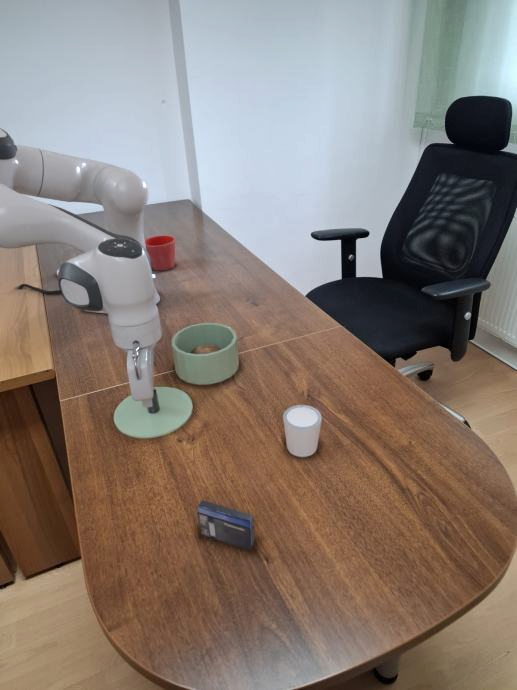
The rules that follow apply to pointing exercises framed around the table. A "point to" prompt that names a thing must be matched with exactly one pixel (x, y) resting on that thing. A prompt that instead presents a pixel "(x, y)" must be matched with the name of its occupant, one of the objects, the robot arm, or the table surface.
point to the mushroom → (205, 349)
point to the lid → (154, 414)
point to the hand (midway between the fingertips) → (148, 390)
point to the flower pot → (161, 252)
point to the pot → (205, 365)
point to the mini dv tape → (226, 524)
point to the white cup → (302, 429)
